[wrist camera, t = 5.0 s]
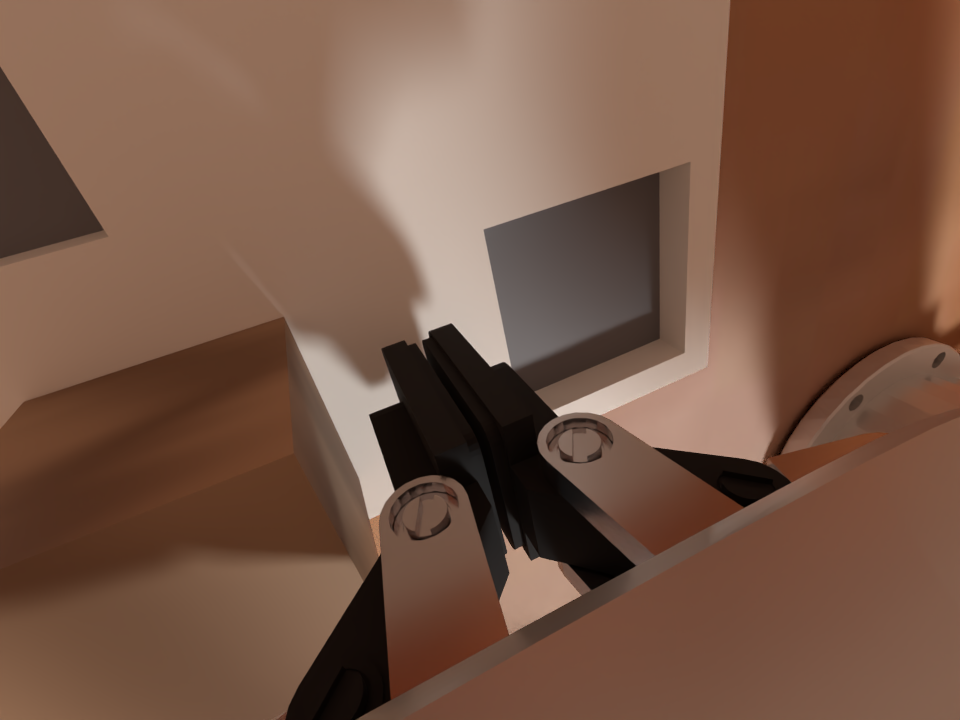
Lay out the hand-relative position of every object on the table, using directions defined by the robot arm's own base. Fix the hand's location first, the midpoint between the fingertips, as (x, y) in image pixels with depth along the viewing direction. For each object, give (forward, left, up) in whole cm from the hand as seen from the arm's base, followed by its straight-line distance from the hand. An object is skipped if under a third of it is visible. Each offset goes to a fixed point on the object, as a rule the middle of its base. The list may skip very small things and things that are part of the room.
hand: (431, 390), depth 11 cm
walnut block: (+5, 0, -1) cm, 5 cm away
